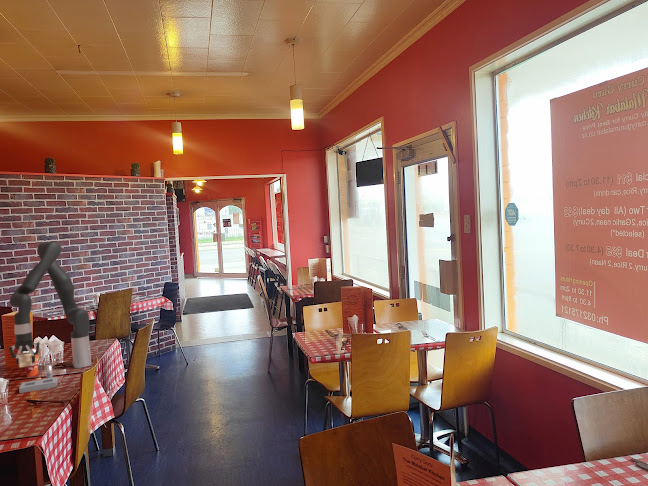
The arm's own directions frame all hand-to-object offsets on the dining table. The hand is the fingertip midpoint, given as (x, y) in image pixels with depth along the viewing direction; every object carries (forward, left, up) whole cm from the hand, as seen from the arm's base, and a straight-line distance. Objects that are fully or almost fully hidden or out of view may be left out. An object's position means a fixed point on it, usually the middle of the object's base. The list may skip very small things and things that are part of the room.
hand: (26, 363), depth 255 cm
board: (-6, +10, -11) cm, 16 cm away
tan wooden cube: (0, 0, -1) cm, 1 cm away
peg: (-10, 0, -11) cm, 15 cm away
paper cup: (0, -17, -11) cm, 20 cm away
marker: (-4, -6, -11) cm, 13 cm away
